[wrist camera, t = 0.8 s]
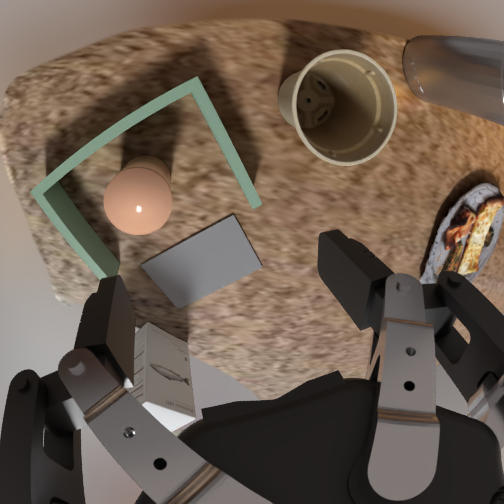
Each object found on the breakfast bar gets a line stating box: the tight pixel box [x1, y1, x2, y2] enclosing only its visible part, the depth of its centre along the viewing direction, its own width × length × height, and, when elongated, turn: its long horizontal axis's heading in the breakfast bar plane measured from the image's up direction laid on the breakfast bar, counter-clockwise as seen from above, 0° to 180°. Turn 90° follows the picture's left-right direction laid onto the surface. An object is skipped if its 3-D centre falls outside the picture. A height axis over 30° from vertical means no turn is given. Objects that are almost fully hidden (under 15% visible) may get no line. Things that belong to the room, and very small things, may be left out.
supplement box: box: [126, 322, 196, 432], centre depth 34 cm, size 7×7×13 cm
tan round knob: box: [104, 155, 172, 235], centre depth 25 cm, size 6×6×6 cm
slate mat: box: [141, 214, 262, 309], centre depth 34 cm, size 12×8×1 cm, turn 114°
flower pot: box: [278, 49, 397, 166], centre depth 23 cm, size 9×9×9 cm
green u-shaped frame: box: [31, 76, 263, 280], centre depth 25 cm, size 18×13×4 cm
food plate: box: [420, 182, 504, 284], centre depth 43 cm, size 25×23×4 cm
